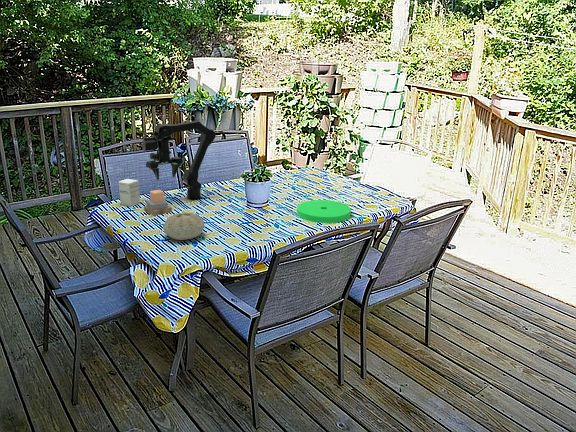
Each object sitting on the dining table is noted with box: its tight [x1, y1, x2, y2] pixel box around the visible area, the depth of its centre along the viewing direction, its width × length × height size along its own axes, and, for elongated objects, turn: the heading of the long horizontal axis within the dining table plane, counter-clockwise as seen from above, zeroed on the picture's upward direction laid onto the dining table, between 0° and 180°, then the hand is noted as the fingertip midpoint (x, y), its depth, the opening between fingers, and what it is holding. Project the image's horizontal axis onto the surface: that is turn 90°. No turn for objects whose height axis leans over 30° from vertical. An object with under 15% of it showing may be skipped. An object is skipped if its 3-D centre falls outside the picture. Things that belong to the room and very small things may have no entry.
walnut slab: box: [143, 204, 173, 217], centre depth 253 cm, size 10×10×3 cm
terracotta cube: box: [149, 189, 165, 203], centre depth 251 cm, size 5×5×5 cm
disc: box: [296, 199, 352, 224], centre depth 254 cm, size 27×27×3 cm
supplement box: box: [118, 178, 141, 208], centre depth 262 cm, size 7×7×13 cm
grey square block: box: [145, 199, 169, 211], centre depth 252 cm, size 8×8×3 cm
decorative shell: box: [163, 212, 205, 241], centre depth 222 cm, size 18×18×10 cm
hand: (165, 178), depth 263 cm, fingers open, 9 cm apart
